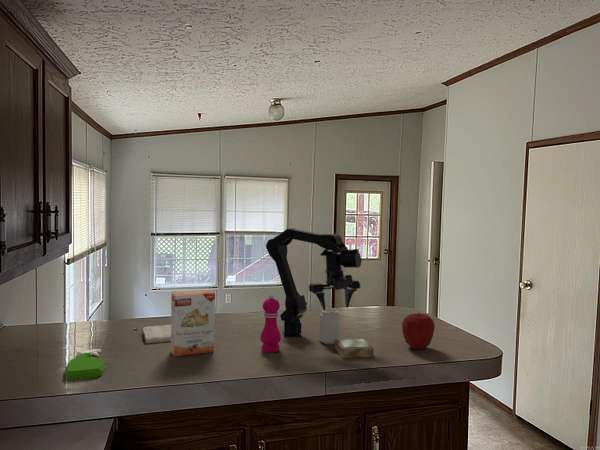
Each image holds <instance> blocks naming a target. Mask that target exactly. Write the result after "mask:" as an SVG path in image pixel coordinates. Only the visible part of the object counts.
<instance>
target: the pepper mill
mask: <svg viewBox="0 0 600 450" xmlns="http://www.w3.org/2000/svg"><path fill="white" fill-rule="evenodd" d="M274 297H275V296H274V294H272V293H270V294H269V296H268V298H266V299H265V300H264V301H263V303H262V309H263V312H264V313H263V314H264V315H263V317H264V326H263V328H262V331H261V333H260V342H261V343H262V345H261V351H262V352H263V353H268V354H271V353H272V354H274V353H277V352H279V351H280V345H279V343H280V341H281V339H282V335H281V332H280V329H279V327H278V324H277V323H278V322H277V321H278V320H277V319H278V317H279V312H278V311H279V310H280V307H281V305H280V302H279V300H278V299H276V298H274Z"/></svg>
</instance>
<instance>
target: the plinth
mask: <svg viewBox="0 0 600 450" xmlns="http://www.w3.org/2000/svg"><path fill="white" fill-rule="evenodd" d="M334 350H336V352H337V353H338V354H339V355H340V357H341V358H342V359H344V358H345V359H347V358H348V359H349V358H350V359H351V358H354V359H355V358H374V347H373V346H372V345H371V344H370V343H369V342H368V341H367V340H366V339H365V338H357V339H356V338H354V339H352V338H351V339H350V338H349V339H347V338H346V339H339V340H335V344H334Z"/></svg>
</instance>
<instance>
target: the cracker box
mask: <svg viewBox="0 0 600 450" xmlns="http://www.w3.org/2000/svg"><path fill="white" fill-rule="evenodd" d="M170 297H171V300H170V301H171V303H170V305H171V307H170V308H171V309H170V311H171V313H170V325H171V341H170V353H171V354H172V356H173V357H179V356H189V355H190V356H191V355H197V354H204V353H213V352H214V349H215V320H216V319H215V313H216V312H215V311H216V293H215V292H213V291H212V290H210V289H209V290H198V291H179V292H171V296H170Z"/></svg>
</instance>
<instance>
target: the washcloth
mask: <svg viewBox="0 0 600 450" xmlns="http://www.w3.org/2000/svg"><path fill="white" fill-rule="evenodd" d="M142 328H143V329H142V330H143V338H144V342H145V344H157V343H168V342H171V324H164V325H149V326H144V327H142Z"/></svg>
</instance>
